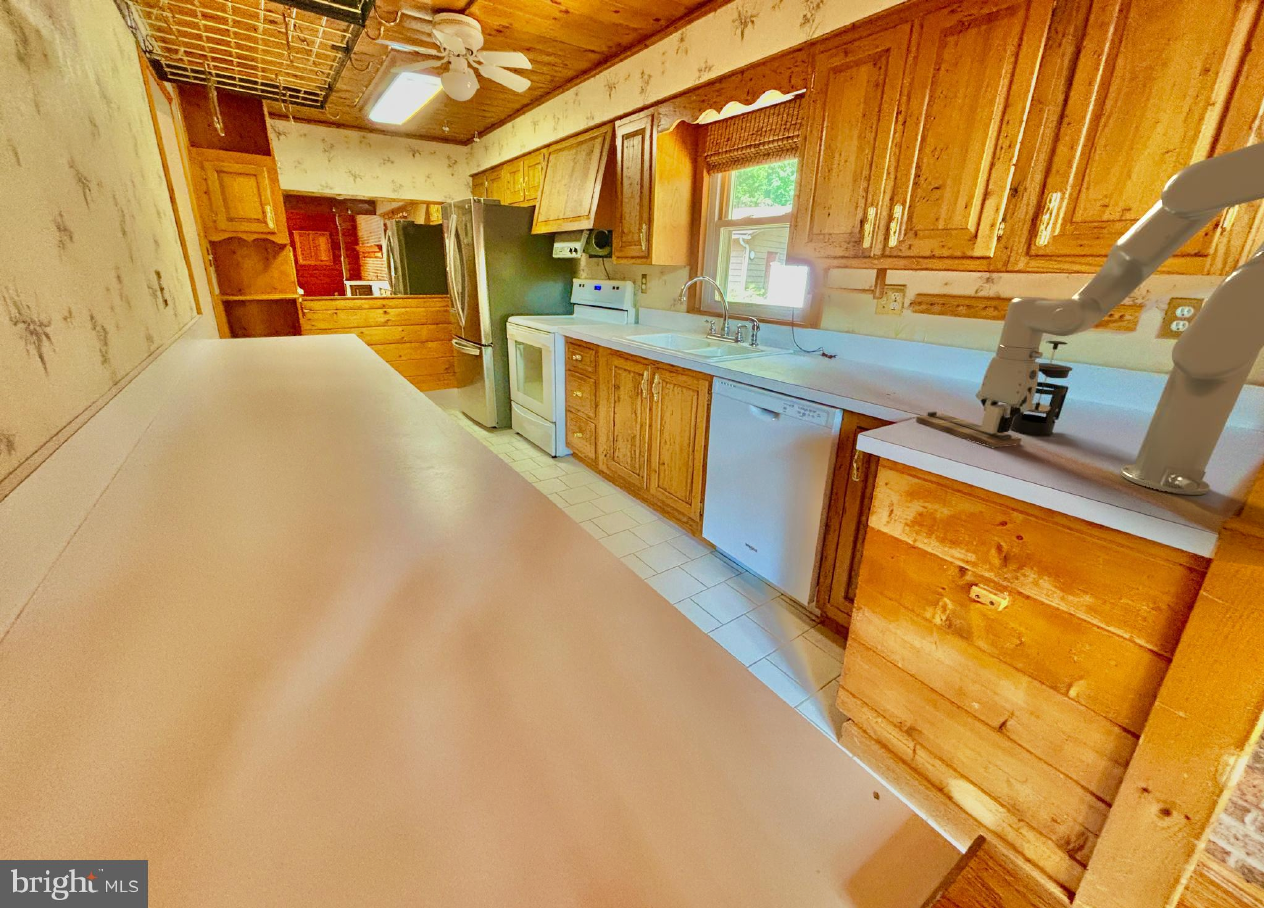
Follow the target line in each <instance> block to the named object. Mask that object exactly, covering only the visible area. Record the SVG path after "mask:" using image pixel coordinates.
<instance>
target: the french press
mask: <svg viewBox="0 0 1264 908" xmlns="http://www.w3.org/2000/svg"><path fill="white" fill-rule="evenodd" d="M1045 343H1047V344H1050V345H1051V344H1052V347H1051V348H1052V350H1053V351H1052V354H1051V357H1050V360H1049V362H1039V373H1041V374H1042V375H1044V376H1045V377H1044V380H1043V382H1042V381H1038V382H1037V387H1036V392H1035V394H1039V397H1038V399H1037V401H1036V403H1034V402H1032V405H1033V410H1030V411H1028V412H1029V413H1025V412H1022V413H1020V414H1018V415H1017V416H1015V417H1014V419H1013V423H1012V426H1011V429H1010V431H1011V432H1014V433H1017V434H1019V435H1020V434H1021V435H1025V434H1026V435H1025V436H1031V437H1043V438H1044V437H1051V436H1053V435H1054V432H1053V431H1054V428H1055V425H1056V421H1058V420H1059V418H1060V415H1061V413H1062V410H1063V407H1064V403H1065V401H1066V397H1067V394H1068V390H1069V386H1067V385H1065V384H1056V383H1050V382H1047V379H1067V378H1068V377H1069V373H1070V372H1071V371H1073V367H1071V366H1067V365H1063V364H1062V365H1061V364H1057V363H1052V362H1053V359H1054V356H1055V353H1056V350H1058V347H1059V346H1060V345H1061V346H1062V345H1065V346H1066V345H1068V342H1065V341H1063V340H1061V341H1060V340H1047V341H1045ZM1042 395H1046V396H1051V398H1050V400H1049V405H1048V404H1042V403H1041V398H1042ZM1022 406H1023V404H1022V403H1020V404H1019V407H1022ZM1030 412H1031V413H1035V414H1031V413H1030ZM1036 413H1037V414H1038V415H1037V414H1036ZM1039 414H1042V415H1043V414H1045V416H1042V415H1039Z"/></svg>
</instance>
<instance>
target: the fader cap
mask: <svg viewBox="0 0 1264 908" xmlns="http://www.w3.org/2000/svg"><path fill="white" fill-rule="evenodd" d="M1005 407H1006V404H1005V403H999V404H998V405H990V406H986V410H985V411H984V414H983V417H982V422H981V425H980V426H981V429H980V430H982V431H986V432H989V433H993V434H997V433H998V432H997V430H998V426H999V422H1000V419H1001V417H1002V416H1004V412H1005ZM1013 419H1014V418H1013ZM1012 423H1013V422H1012ZM1011 426H1012V425H1011ZM1010 429H1011V428H1010ZM1010 431H1011V430H1009V431H1008V432H1010Z"/></svg>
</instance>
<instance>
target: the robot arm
mask: <svg viewBox="0 0 1264 908" xmlns="http://www.w3.org/2000/svg"><path fill="white" fill-rule="evenodd" d="M1261 199H1264V141H1260V142H1257V143H1254V144H1251V145H1247V146H1245V147H1244V146H1243V147H1242V148H1239V149H1235V150H1232V151H1229V152H1225V153H1222V154H1219V155H1215V156H1212V157H1209V158H1207V159H1204V160H1199V161H1197V162H1195V163H1192V164H1190V165H1187V166H1185V167H1183V168H1182V169H1181V170H1179V171H1177V173H1175V174H1174V175H1172V177H1170V179H1169V180H1168V181H1167V182H1166V184H1165V185H1164V187H1163V188H1162V192H1161V194H1160V198H1159V200H1158V201H1157V202H1155V204H1154V205H1153V206H1152V207H1151V208H1149V210H1148V211H1146V213H1144V215H1142V216H1141V218H1139V219H1138V220H1137V221H1136V222H1135V223H1134V225H1132V226H1131V227H1130V228H1129V229H1128V230H1127V231H1126V232H1125V233H1124V234H1123V235H1122V236H1120V237H1119V239H1118V240H1117V241H1115V243H1114V245H1112V247H1111V249H1110V251H1109V253H1108V256H1107V259H1106V260H1105V262H1104V263H1103V265H1102V267H1101V268H1100V269H1099V270H1098V271H1097V273H1096V274H1095V275H1094V276H1093V277H1092V278H1091V279H1090V280H1089V281H1088V282H1087V283H1086V284H1085V285H1084V286H1083V287H1082V288H1081V289H1080V290H1079V291H1078V292H1077V293H1075V294H1074V295H1073V296H1072V297H1071V298H1068V299H1067V298H1066V299H1065V298H1064V299H1051V300H1050V299H1049V298H1046V297H1039V296H1037V297H1036V296H1017V297H1015V298H1012V300H1010V302H1009V305H1008V308H1007V311H1006V314H1005V319H1004V321H1003V322H1004V323H1003V327H1002V331H1001V334H1000V337H999V342H998V344H997V345H998V346H997V349H996V352H995V356H993V357H992V358H991V359H990V362H989V363H988V366H987V369H986V371H985V374H984V375H983V379H982V383H981V384H980V388H979V391H977V393H976V394H975V397H976V399H978V401H979V402H980V403H981V404H982V405H981V406H983V411H984V412H985V410H986V406H990V405H998V404H1006V407H1005V412H1004V416H1002V417H1001V419H1000V422H999V426H998V430H997V432H998V433H1009V432H1010V431H1011V430H1010V428H1011V425H1012V422H1013V418H1014V417H1015V416H1017V415H1018V414H1020V413H1022V412H1024V413H1025V412H1029V411H1030V410H1033V405H1032V403H1033V401H1034V398H1035V396H1036V393H1035V392H1036V388H1038V387H1037V382H1039V381H1038V380H1039V374H1040V372H1039V363H1040V362H1039V361H1036V360H1037V359H1041V358H1042V357H1043V355H1044V354H1043V352H1042V351H1040V346H1041V342H1042V340H1043V336H1044V334H1048V335H1052V336H1057V337H1069V336H1073V335H1076V334H1079V333H1083V332H1086V331H1088V330H1090V329H1092V328H1093V327H1095V326H1096V325H1097V324H1099V323H1101V321H1102V320H1103V319H1105V318H1106V317H1107V316H1108V315H1109V314H1110V313H1111V312H1113V311H1114V310H1115V309H1116V308H1117V307H1118V306H1119V305H1121V304H1122V303H1123V302H1125V300H1126V299H1127V298H1129V296H1130V295H1131V294H1133V292H1134V291H1136V290H1137V289H1138V288H1139V287H1140V286H1141V285H1142V284H1143V283H1144V282H1146V280H1148V279H1149V278H1150V277H1151V276H1152V275H1153V274H1154V273H1155V272H1156V271H1157V270H1158V269H1159V268H1160V267H1161V266H1163V264H1164V263H1165V262H1166V261H1168V260H1169V259H1170V258H1171V257H1172V256H1173V255H1175V253H1177V252H1178V250H1180V249H1181V248H1182V247H1183V246H1185V245H1186V244H1187V243H1188V242H1189V241H1190V240H1191V239H1193V237H1195V235H1197V234H1198V233H1199V232H1200V231H1201V230H1203V229H1204V228H1205V227H1207V225H1209V224H1210V222H1212V220H1214V219H1215V218H1216V217H1217V216H1219V214H1221V213H1222V212H1223V211H1224V210H1225V209H1227V208H1231V207H1235V206H1239V205H1241V204H1245V203H1251V202H1255V201H1259V200H1261ZM1263 347H1264V241H1263V242H1262V243H1260V245H1259V247H1258V248H1257V249H1256V250H1255V252H1254V253H1253V254H1252V255H1251V257H1249V259H1248V260H1247V261H1246V262H1245V263H1243V264H1241V265H1239V266H1238V267H1236V268H1235V269H1234V270H1232V271H1231V272H1229V274H1228V275H1226V277H1224V279H1223V280H1222V281H1221V282H1220V284H1219V285H1218V286H1217V287H1216V289H1215V290H1214V291H1213V292H1212V294H1211V295H1210V296H1209V298H1208V299H1207V300H1206V302H1205V303H1204V305H1203V306H1202V307H1201V308H1200V310H1199V311H1198V312H1197V313H1196V315H1195V316H1194V318H1193V319H1192V320H1191V322H1190V323H1189V325H1187V327H1185V330H1184V331H1183V332H1182V333H1181V335H1180V336H1179V337H1178V339H1177V340H1176V342H1175V344H1173V347H1172V351H1171V360H1172V363H1173V367H1172V369H1171V371H1170V373H1169V376H1168V378H1167V380H1166V382H1165V385H1164V388H1163V390H1162V393H1161V395H1160V397H1159V400H1158V403H1157V404H1156V407H1155V409H1154V412H1153V415H1152V417H1151V420H1150V422H1149V425H1148V428H1147V429H1146V430H1147V431H1146V433H1145V435H1144V438H1143V440H1142V441H1141V442H1142V443H1141V444H1140V448H1139V450H1138V452H1137V455H1136V458H1135V461H1134V463H1133V464H1127V465H1123V466H1121V468H1120V472H1119V474H1120V475H1121V477H1123V478H1125V480H1127V481H1130V482H1132V483H1135V484H1136V485H1139V486H1143V487H1145V486H1146V488H1149V487H1150V489H1152V488H1153V489H1152V490H1156V489H1158V490H1157V491H1160V492H1161V491H1162V492H1165V491H1167V493H1171V492H1172V493H1171V494H1177V495H1178V494H1179V495H1186V496H1188V495H1189V496H1191V495H1192V496H1201V495H1205V494H1207V493H1209V490H1210V489H1211V486H1210V484H1209V483H1208V482H1206V481H1205V480H1204V477H1205V476H1206V474H1207V471H1206V468H1207V466H1208V464H1209V461H1210V460H1211V458H1212V455H1213V453H1214V450H1215V448H1216V446H1217V444H1218V442H1219V439H1220V437H1221V435H1222V433H1223V431H1224V428H1225V426H1226V423H1227V422H1228V420H1229V417H1230V415H1231V413H1232V412H1233V410H1234V407H1235V405H1236V403H1237V400H1238V399H1239V397H1240V394H1241V392H1242V390H1243V388H1244V386H1245V383H1246V381H1247V379H1248V377H1249V375H1250V373H1251V371H1252V369H1253V366H1254V365H1255V363H1256V361H1257V359H1258V357H1259V355H1260V352H1261V350H1262V349H1263ZM1020 403H1022V404H1023V406H1022V407H1019V404H1020ZM1009 430H1010V431H1009Z"/></svg>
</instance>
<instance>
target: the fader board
mask: <svg viewBox="0 0 1264 908" xmlns="http://www.w3.org/2000/svg"><path fill="white" fill-rule="evenodd" d="M915 423H918V424H922V425H923V426H927V427H929V426H930V428H932V429H935V428H936V430H938V429H939V430H938V431H941V432H944V431H945V432H944V433H947V434H949V433H950V435H952V434H954V435H953V436H955V437H958V436H959V438H961V437H963V438H962V439H964V440H966V439H969V440H971V441H970V442H972V441H975V442H979V443H981V444H985V445H988V446H990V447H1000V448H1002V447H1001V446H1005V445H1013V446H1015V445H1014V444H1019V445H1021V442H1022V438H1021V437H1018V436H1015V435H1012V434H1008V433H1007V432H1004V433H997V434H993V433H989V432H986V431H982V430H980V429H981V425H980V424H977V423H974V422H970V421H967V420H964V419H961V418H957V417H955V416H951V415H947V414H945V413H938V412H937V411H928V412H927V413H926V415H917V416H916V419H915ZM969 440H968V441H969ZM975 442H974V443H975ZM981 444H980V445H981Z"/></svg>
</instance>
